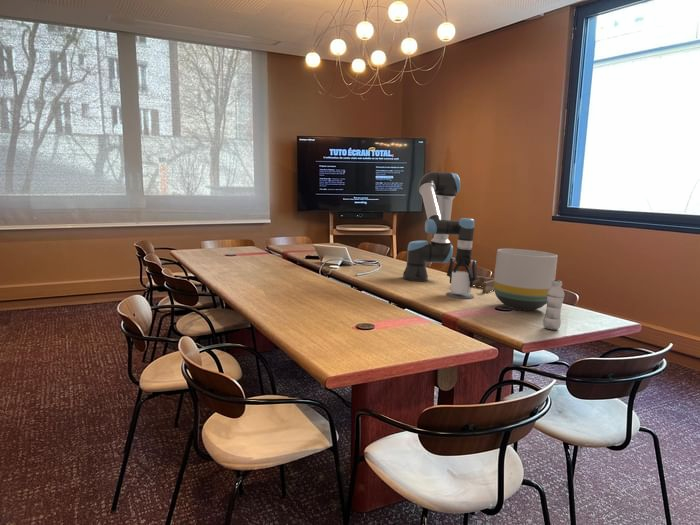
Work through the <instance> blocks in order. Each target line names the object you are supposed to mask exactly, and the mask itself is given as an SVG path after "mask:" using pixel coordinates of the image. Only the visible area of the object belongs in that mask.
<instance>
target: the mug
mask: <svg viewBox="0 0 700 525" xmlns="http://www.w3.org/2000/svg"><path fill="white" fill-rule="evenodd" d="M452 271H453V270H452ZM451 273H452V280H451V284H450V289H451V290H450V292H452V293H454V294H467V288H468V281H469V280H470V279H469V273H467V271H463V270H462V271H461V270H457V271H456V272H455V273H454V271H453V272H451Z"/></svg>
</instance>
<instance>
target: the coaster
mask: <svg viewBox="0 0 700 525" xmlns="http://www.w3.org/2000/svg"><path fill="white" fill-rule="evenodd" d="M446 296H447V297H449V298H454V299H458V300H459V299H460V300H471V299H474V298H475V296H474V295H473V294H472V293H469V294H468V293H467V294H454V293H452V292H451V291H448V292H446Z"/></svg>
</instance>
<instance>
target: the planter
mask: <svg viewBox="0 0 700 525" xmlns="http://www.w3.org/2000/svg"><path fill="white" fill-rule="evenodd" d="M495 257H496V258H495V266H494V267H495V268H494V275H493V276H494V278H493V279H494V291H493V292H494V294H495V296H496V297H497V299H498V301H500V302H501V303H502V304H503V305H505V306H506V307H508V308H510V309H514V310H518V311H535V310H538V309H541V308H542V307H544V306H546V305H547V292H548V290H549V289H550V288H551V287H552V285H551V284H552V280H556V274H557V266H558V254H555V253H552V252H548V251H547V252H546V251H540V250H533V249H532V250H531V249H521V248H520V249H519V248H498V249H497V251H496V256H495Z"/></svg>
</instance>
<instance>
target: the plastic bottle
mask: <svg viewBox="0 0 700 525" xmlns="http://www.w3.org/2000/svg"><path fill="white" fill-rule="evenodd" d="M551 285H552V287H551V288H550V289H549V290H548V292H547V304H546V308H545V309H546V310H545V314H544V317H543V321H542V326H543V327H544V329H547V330H551V331H552V330H555V331H556V330H557V331H558V330H559V329H560V328H561V325H562V324H561V323H562V322H561V320H562V319H561V317H562V316H561V313H562V312H561V311H562V306H563V302H564V300H565V299H564V298H565V296H566V294H565V291H564V289H563V288H562V286H563V281H562V280H559V279H558V280H557V279H555V280H552V284H551Z"/></svg>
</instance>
